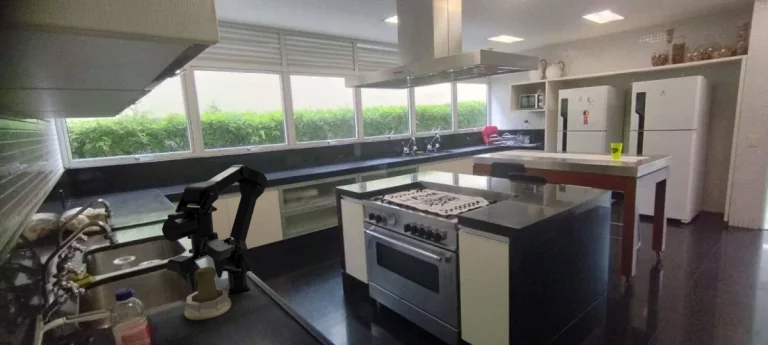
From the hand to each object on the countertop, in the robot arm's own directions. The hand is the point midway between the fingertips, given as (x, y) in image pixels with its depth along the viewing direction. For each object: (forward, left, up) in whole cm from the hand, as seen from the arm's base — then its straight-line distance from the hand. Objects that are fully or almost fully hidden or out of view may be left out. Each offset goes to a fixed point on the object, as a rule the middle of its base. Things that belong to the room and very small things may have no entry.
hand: (206, 283), depth 102 cm
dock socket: (0, 0, -8) cm, 8 cm away
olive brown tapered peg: (0, 0, -7) cm, 7 cm away
